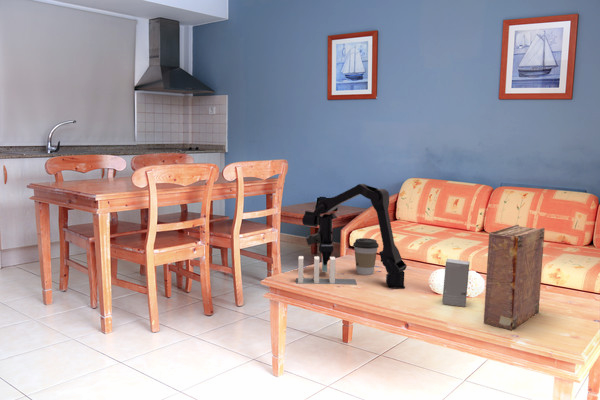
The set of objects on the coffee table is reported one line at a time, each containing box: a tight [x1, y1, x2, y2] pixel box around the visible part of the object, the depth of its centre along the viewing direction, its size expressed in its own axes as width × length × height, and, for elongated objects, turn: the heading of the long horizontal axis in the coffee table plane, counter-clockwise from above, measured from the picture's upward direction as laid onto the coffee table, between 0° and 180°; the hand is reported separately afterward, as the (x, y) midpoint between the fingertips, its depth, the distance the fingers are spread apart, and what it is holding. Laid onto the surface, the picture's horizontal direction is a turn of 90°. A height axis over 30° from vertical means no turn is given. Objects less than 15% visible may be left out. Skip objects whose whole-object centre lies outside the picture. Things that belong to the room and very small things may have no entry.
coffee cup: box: [352, 237, 379, 276], centre depth 232 cm, size 11×11×15 cm
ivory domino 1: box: [313, 255, 320, 283], centre depth 217 cm, size 2×5×10 cm, turn 0°
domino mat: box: [295, 277, 358, 286], centre depth 218 cm, size 25×8×1 cm, turn 90°
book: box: [483, 224, 545, 331], centre depth 176 cm, size 25×9×30 cm, turn 138°
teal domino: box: [321, 256, 328, 273], centre depth 229 cm, size 2×5×10 cm, turn 0°
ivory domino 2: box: [328, 256, 336, 285], centre depth 216 cm, size 2×5×10 cm, turn 0°
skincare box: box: [441, 258, 471, 308], centre depth 191 cm, size 8×7×16 cm
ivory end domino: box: [297, 255, 305, 283], centre depth 217 cm, size 2×5×10 cm, turn 0°
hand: (324, 263), depth 229 cm, fingers closed on teal domino, 5 cm apart
